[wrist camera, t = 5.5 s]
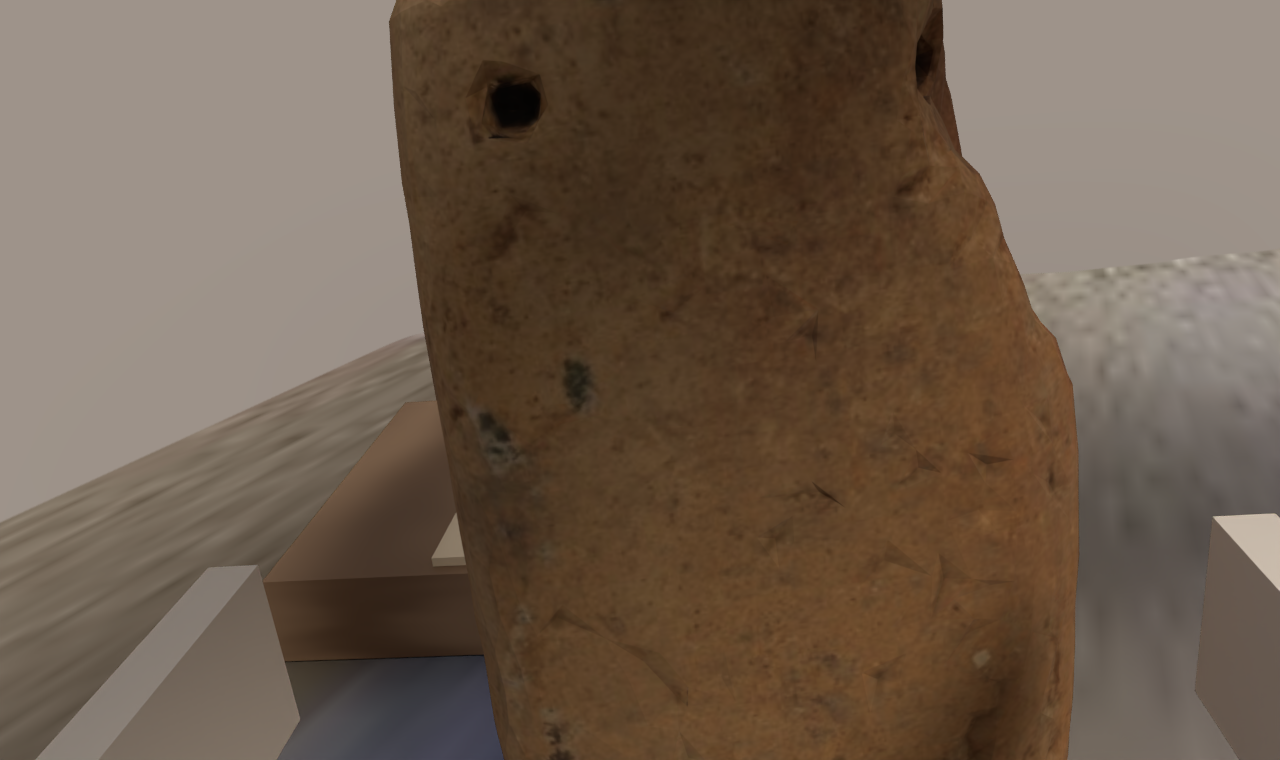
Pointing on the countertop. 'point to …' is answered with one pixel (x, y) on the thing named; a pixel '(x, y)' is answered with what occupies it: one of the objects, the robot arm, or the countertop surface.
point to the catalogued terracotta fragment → (736, 384)
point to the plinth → (380, 558)
